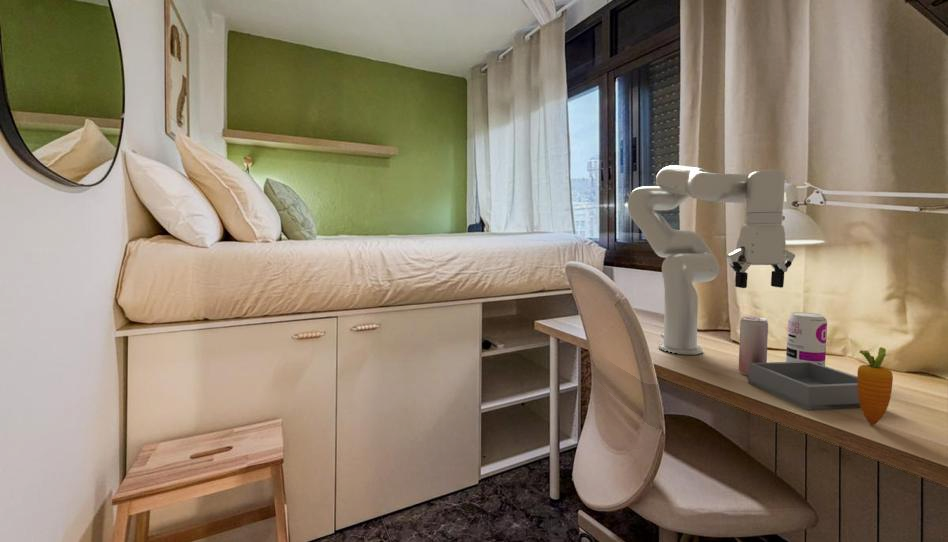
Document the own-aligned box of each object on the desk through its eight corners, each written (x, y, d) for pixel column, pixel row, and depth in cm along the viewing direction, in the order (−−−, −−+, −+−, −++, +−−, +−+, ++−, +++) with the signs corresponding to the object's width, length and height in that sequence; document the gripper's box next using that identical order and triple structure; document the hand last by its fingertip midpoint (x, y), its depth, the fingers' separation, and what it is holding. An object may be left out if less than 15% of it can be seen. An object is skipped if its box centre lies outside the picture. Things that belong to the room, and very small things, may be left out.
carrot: (861, 428, 72) (865, 349, 71) (848, 417, 77) (852, 343, 76) (897, 433, 70) (902, 352, 69) (881, 421, 75) (886, 345, 74)
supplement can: (830, 369, 105) (833, 315, 104) (815, 374, 101) (818, 318, 100) (795, 361, 112) (797, 311, 111) (779, 366, 108) (782, 313, 107)
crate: (748, 382, 96) (749, 363, 95) (808, 380, 97) (809, 361, 97) (808, 410, 80) (809, 387, 80) (879, 407, 81) (880, 384, 81)
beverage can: (737, 369, 106) (739, 315, 105) (764, 372, 103) (766, 317, 102) (739, 375, 101) (741, 319, 100) (767, 379, 98) (769, 321, 97)
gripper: (783, 220, 101) (778, 284, 103) (720, 221, 100) (716, 285, 102) (809, 219, 94) (804, 288, 95) (741, 219, 93) (737, 289, 94)
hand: (758, 287), depth 99 cm, fingers open, 9 cm apart
